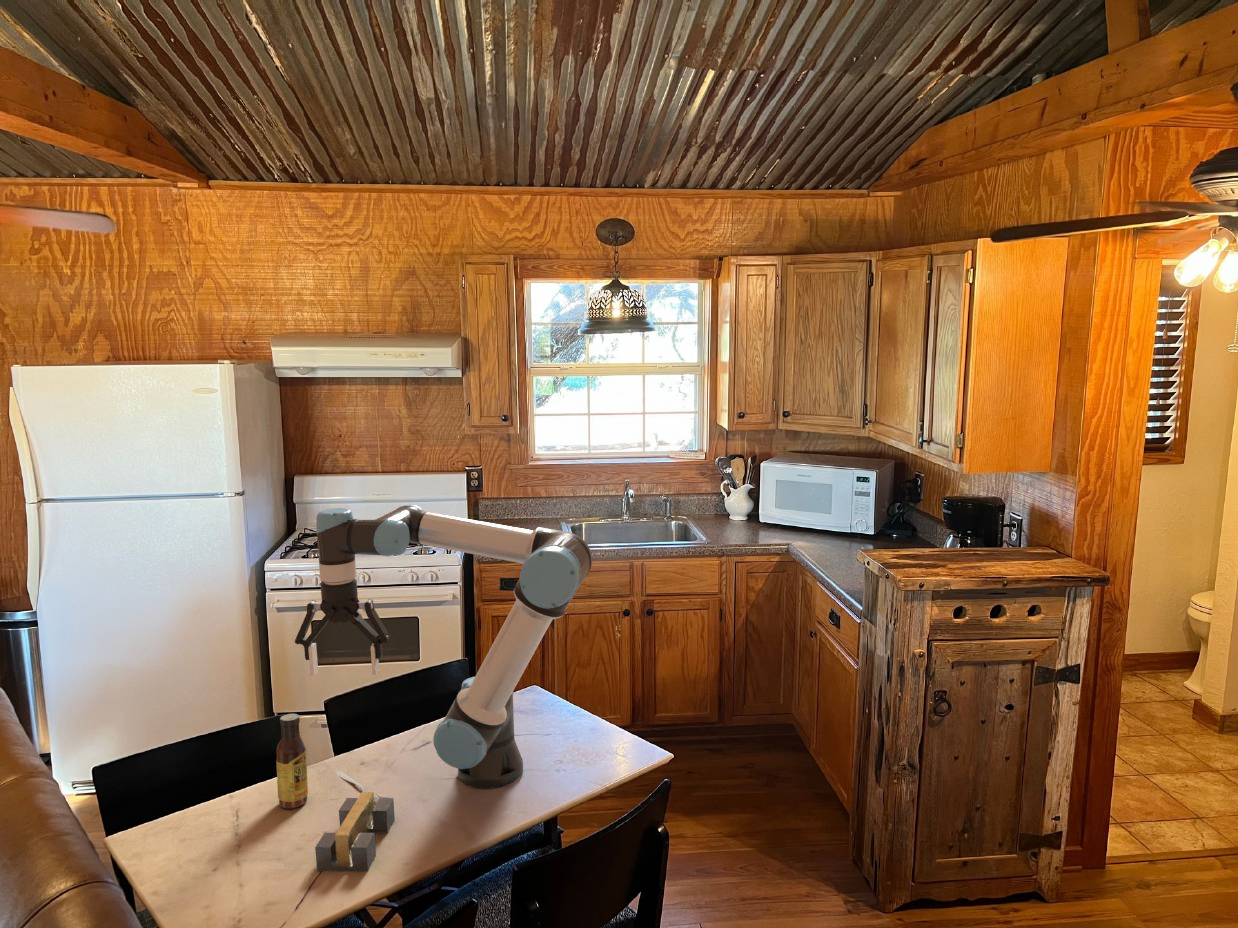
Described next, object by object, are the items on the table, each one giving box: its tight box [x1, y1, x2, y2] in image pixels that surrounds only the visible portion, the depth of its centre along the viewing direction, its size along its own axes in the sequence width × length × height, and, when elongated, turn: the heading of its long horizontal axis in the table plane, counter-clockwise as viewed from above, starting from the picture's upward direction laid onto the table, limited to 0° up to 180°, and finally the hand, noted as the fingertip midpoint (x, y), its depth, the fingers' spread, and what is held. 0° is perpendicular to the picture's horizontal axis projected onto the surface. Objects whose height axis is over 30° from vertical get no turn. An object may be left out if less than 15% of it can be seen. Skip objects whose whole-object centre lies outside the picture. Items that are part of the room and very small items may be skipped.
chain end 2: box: [314, 832, 377, 872], centre depth 174 cm, size 10×5×5 cm, turn 88°
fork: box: [335, 770, 388, 803], centre depth 204 cm, size 3×24×2 cm, turn 44°
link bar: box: [335, 791, 375, 864], centre depth 180 cm, size 2×16×6 cm, turn 178°
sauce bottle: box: [276, 713, 309, 810], centre depth 195 cm, size 7×6×20 cm
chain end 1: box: [338, 797, 396, 834], centre depth 186 cm, size 10×5×5 cm, turn 88°
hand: (345, 672), depth 196 cm, fingers open, 13 cm apart
